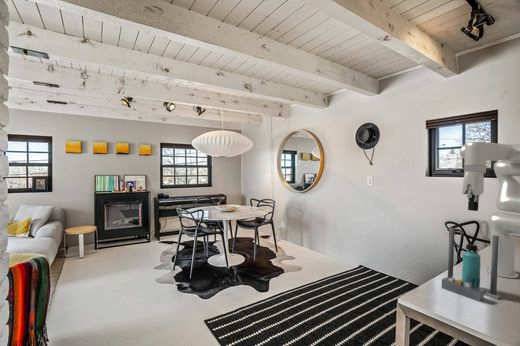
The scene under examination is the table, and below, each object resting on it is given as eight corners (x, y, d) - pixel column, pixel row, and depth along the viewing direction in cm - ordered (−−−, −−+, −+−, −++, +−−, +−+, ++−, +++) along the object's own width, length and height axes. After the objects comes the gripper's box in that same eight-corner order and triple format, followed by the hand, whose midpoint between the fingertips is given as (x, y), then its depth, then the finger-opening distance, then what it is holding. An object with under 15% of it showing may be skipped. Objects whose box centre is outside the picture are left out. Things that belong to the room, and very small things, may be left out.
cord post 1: (447, 279, 127) (449, 226, 127) (456, 282, 124) (458, 228, 123) (443, 281, 125) (445, 227, 124) (453, 284, 122) (455, 229, 121)
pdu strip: (445, 285, 120) (446, 274, 120) (483, 299, 108) (484, 287, 108) (441, 287, 118) (441, 276, 118) (479, 301, 106) (480, 289, 106)
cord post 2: (488, 293, 114) (491, 234, 113) (500, 297, 110) (503, 236, 110) (485, 295, 111) (487, 235, 111) (497, 299, 108) (500, 237, 107)
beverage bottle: (472, 292, 114) (474, 247, 113) (457, 286, 120) (459, 243, 119) (483, 291, 115) (485, 246, 115) (468, 284, 122) (469, 242, 121)
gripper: (471, 169, 123) (469, 208, 124) (457, 169, 115) (455, 210, 116) (491, 170, 117) (489, 210, 117) (478, 169, 109) (476, 212, 109)
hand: (472, 210), depth 117 cm, fingers closed
